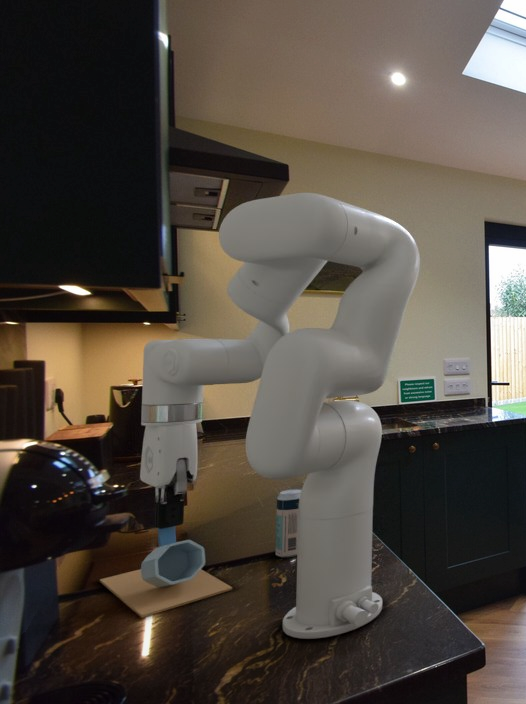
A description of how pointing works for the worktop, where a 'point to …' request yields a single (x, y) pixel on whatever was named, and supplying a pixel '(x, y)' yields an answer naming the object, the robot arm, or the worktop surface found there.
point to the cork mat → (162, 591)
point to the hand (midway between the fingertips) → (169, 525)
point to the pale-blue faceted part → (172, 560)
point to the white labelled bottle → (287, 523)
